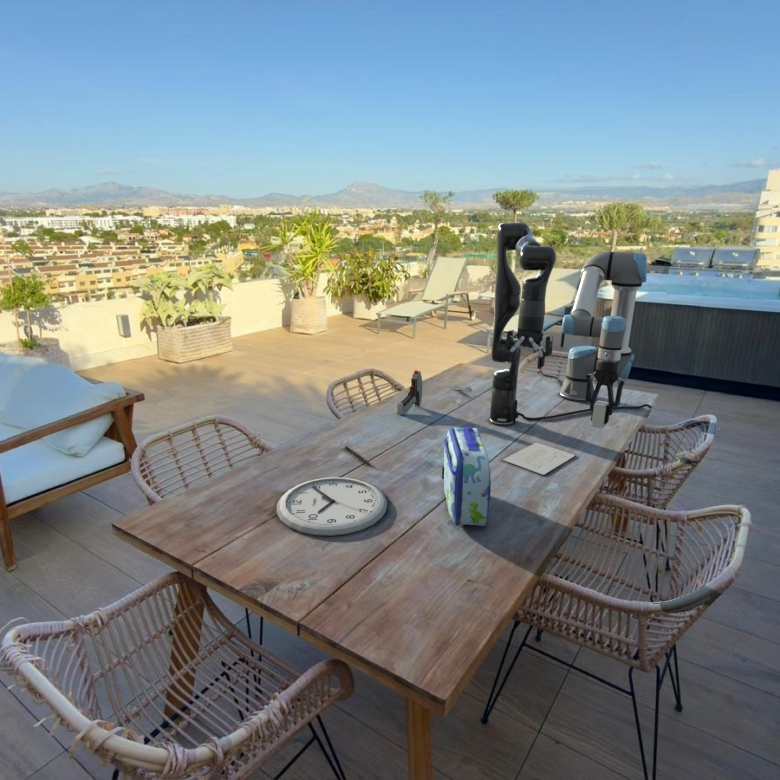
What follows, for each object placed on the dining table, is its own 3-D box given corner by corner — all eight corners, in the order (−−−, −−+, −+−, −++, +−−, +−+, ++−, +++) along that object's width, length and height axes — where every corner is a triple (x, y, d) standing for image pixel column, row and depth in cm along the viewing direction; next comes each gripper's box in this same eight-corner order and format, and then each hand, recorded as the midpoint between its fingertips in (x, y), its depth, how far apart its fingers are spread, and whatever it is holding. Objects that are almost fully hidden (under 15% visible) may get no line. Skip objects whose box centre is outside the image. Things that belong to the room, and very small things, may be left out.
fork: (463, 397, 236) (463, 392, 235) (450, 386, 250) (450, 382, 250) (468, 396, 236) (469, 392, 236) (455, 386, 251) (455, 382, 250)
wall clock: (392, 527, 129) (268, 531, 127) (391, 533, 130) (269, 537, 127) (383, 473, 158) (282, 475, 155) (383, 478, 158) (282, 480, 156)
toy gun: (396, 378, 207) (417, 368, 219) (397, 416, 213) (418, 404, 224) (401, 379, 206) (422, 369, 217) (402, 417, 212) (422, 405, 223)
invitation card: (535, 442, 186) (575, 454, 176) (535, 442, 187) (575, 455, 176) (502, 459, 172) (543, 474, 162) (502, 460, 172) (543, 475, 162)
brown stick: (344, 448, 179) (344, 445, 179) (346, 448, 179) (346, 445, 179) (367, 464, 167) (367, 462, 167) (368, 464, 167) (368, 461, 167)
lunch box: (439, 484, 155) (443, 418, 149) (476, 485, 155) (480, 418, 149) (448, 533, 130) (452, 456, 124) (491, 534, 130) (497, 457, 124)
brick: (591, 426, 193) (594, 403, 190) (595, 422, 197) (598, 400, 194) (602, 428, 191) (605, 405, 188) (606, 425, 194) (609, 402, 192)
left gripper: (504, 313, 160) (500, 364, 164) (549, 318, 151) (544, 372, 156) (514, 310, 165) (510, 360, 170) (559, 315, 157) (553, 367, 162)
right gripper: (580, 358, 189) (572, 418, 195) (631, 365, 179) (620, 429, 186) (587, 354, 194) (579, 413, 201) (636, 362, 184) (626, 424, 191)
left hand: (526, 365), depth 163 cm, fingers open, 8 cm apart
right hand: (599, 421), depth 193 cm, fingers closed on brick, 4 cm apart
